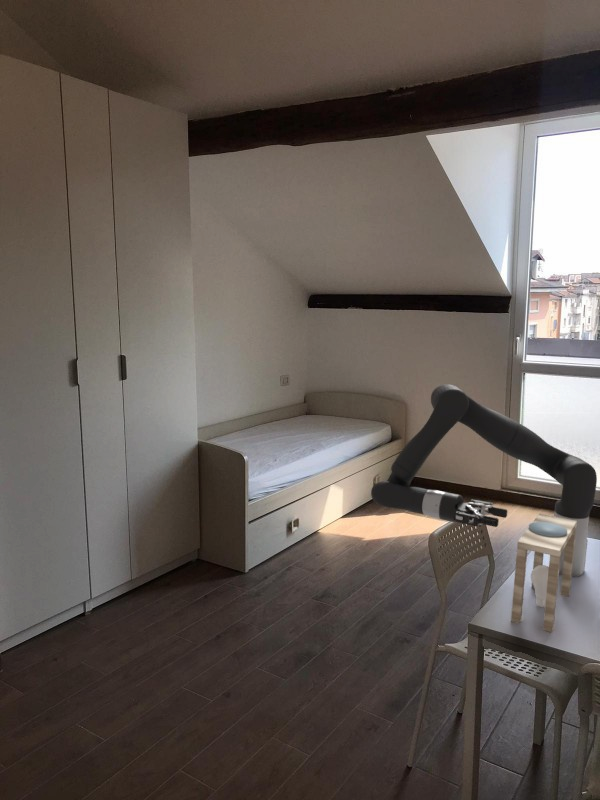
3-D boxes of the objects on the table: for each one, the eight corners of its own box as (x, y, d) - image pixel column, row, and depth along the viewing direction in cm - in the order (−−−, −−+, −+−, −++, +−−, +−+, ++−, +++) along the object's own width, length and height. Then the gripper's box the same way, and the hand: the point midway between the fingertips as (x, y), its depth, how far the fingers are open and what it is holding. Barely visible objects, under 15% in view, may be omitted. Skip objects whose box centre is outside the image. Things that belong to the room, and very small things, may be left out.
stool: (533, 584, 178) (539, 511, 175) (569, 593, 173) (577, 518, 170) (510, 621, 158) (517, 539, 155) (551, 632, 153) (559, 548, 150)
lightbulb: (524, 606, 166) (527, 566, 164) (533, 598, 170) (537, 559, 168) (547, 615, 162) (551, 573, 160) (557, 606, 166) (561, 566, 164)
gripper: (434, 498, 170) (496, 511, 161) (452, 486, 182) (510, 497, 173) (432, 526, 171) (493, 540, 163) (450, 511, 183) (508, 524, 175)
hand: (502, 518), depth 168 cm, fingers open, 8 cm apart
